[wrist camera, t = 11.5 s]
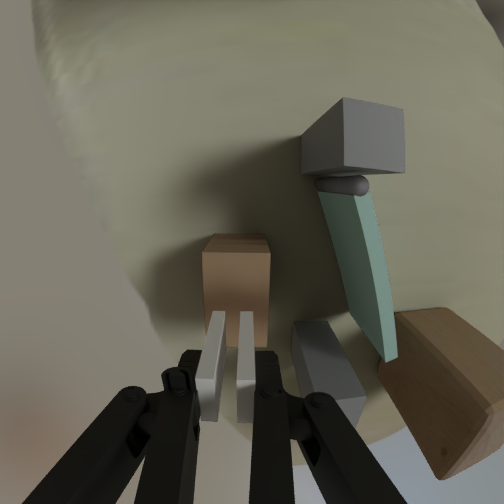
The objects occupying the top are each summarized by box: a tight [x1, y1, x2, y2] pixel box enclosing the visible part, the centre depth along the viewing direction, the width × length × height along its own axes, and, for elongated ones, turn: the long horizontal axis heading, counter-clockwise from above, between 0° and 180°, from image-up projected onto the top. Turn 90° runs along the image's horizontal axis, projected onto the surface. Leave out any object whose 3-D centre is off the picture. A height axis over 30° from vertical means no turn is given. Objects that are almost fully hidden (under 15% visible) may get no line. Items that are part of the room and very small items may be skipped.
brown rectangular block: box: [202, 234, 271, 347], centre depth 25 cm, size 8×5×8 cm, turn 179°
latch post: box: [291, 321, 367, 428], centre depth 25 cm, size 4×4×13 cm
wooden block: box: [377, 308, 504, 480], centre depth 22 cm, size 10×10×20 cm
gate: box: [314, 175, 398, 363], centre depth 23 cm, size 15×1×10 cm, turn 19°
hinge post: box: [301, 97, 405, 176], centre depth 20 cm, size 4×4×13 cm
